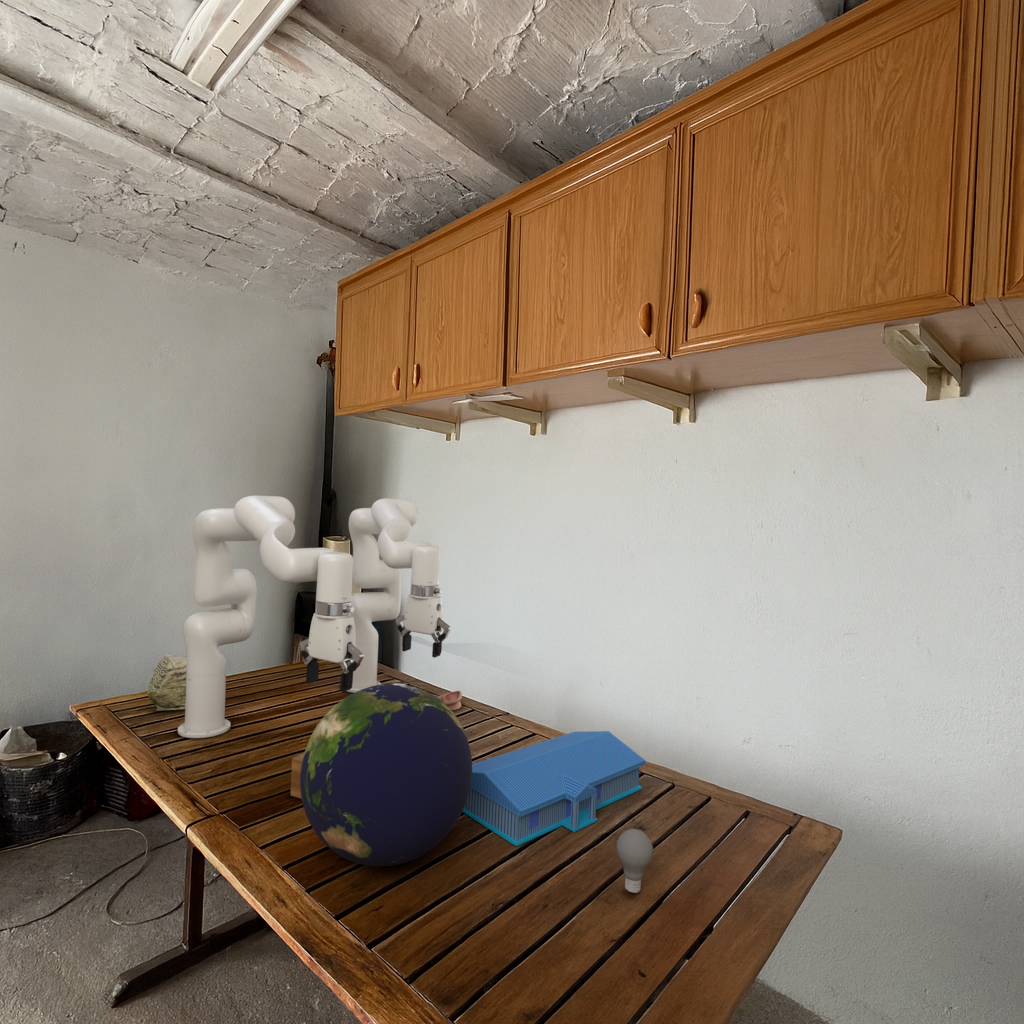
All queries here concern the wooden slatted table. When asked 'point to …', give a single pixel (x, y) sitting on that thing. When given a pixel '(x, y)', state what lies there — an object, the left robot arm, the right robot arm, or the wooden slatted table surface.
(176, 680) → the fossil
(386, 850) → the globe
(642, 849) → the light bulb
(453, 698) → the anatomical model
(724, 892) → the wooden slatted table surface
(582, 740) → the model building
